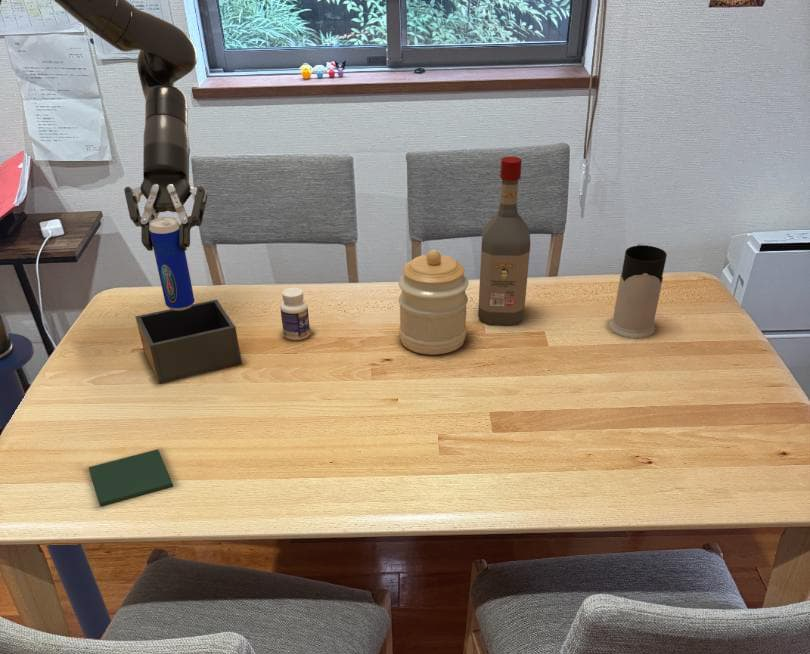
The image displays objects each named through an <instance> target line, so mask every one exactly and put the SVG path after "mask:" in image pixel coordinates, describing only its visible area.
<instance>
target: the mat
mask: <svg viewBox="0 0 810 654" xmlns="http://www.w3.org/2000/svg"><path fill="white" fill-rule="evenodd" d="M88 471H89V474H90V477H91V480H92V483H93V488H94V491H95V493H96V497H97V500H98V504H99V506H100V507H103V506H107V505H110V504H113V503H116V502H120V501H125V500H127V499H131V498H135V497H139V496H143V495H145V494H150V493H153V492H157V491H160V490H164V489H168V488H171V487H174V484H173V481H172V478H171V477H170V474H169V472H168V468H167V466H166V464H165V462H164V459H163V457H162V455H161V453H160V450H159V449H158V448H157V449H153V450H149V451H146V452H141V453H138V454H134V455H131V456H126V457H122V458H119V459H114V460H110V461H108V462H104V463H100V464H96V465H92V466H89V467H88Z"/></svg>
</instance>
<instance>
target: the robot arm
mask: <svg viewBox="0 0 810 654" xmlns="http://www.w3.org/2000/svg"><path fill="white" fill-rule="evenodd" d="M2 1H3V0H0V6H2ZM53 1H54V2H55V3H56V4H57V5H58V6H60V7H61V8H62V9H63V10H64V11H65V12H66V13H68V14H69V15H70V16H72V17H73V18H74V19H75V20H77V21H78V22H79V23H80V24H82V25H83V26H84V27H85V28H86V29H88V30H90V31H91V32H92V33H93V34H95V35H97V36H98V37H99V38H100V39H102V40H103V41H105V42H106V43H108V44H109V45H111V46H112V47H114V48H115V49H116V50H118V51H120V52H123V53H128V52H133V51H139V52H138V56H137V62H136V64H137V66H136V67H137V73H138V77H139V82H140V85H141V89H142V93H143V96H144V100H145V107H144V108H145V109H144V110H145V113H144V116H145V118H144V121H145V122H144V130H143V156H142V157H143V164H142V165H143V167H142V168H143V169H142V170H143V171H142V172H143V173H142V174H143V175H142V177H143V180H142V183H141V184H140V186H139V187H135V188H132V187H130V186H126V187H124V190H123V191H124V196H125V201H126V206H127V210H128V214H129V219H130V220H131V222H132V223H133V224H134V226H136V227H138V228H139V227H140V228H141V229H140V230H141V237H140V238H141V241H140V242H141V244H142V245H143V247H144V248H145V249H146V250H147V251H148V252H149V251H150V252H152V251H153V252H154V249H153V245H152V240H151V236H150V231H149V225H150V222H151V221H152V220H154V219H156V218H159V216H160V213H166V212H170V213H176V214H177V217H178V219H179V221H180V224H179V246H180V248H181V250H182V251H185V252H186V251H187V250H188V249H187V248H190V245H191V229H192V228H193V227H200V226H201V225H202V223H203V218H204V214H205V211H206V205H207V202H208V194H207V191H206V190H205V188H204V187H203V185H202V186H201V185H200V186H198V187H194V186H191V184H190V154H191V148H190V137H189V136H190V135H189V105H188V100H187V99H188V98H187V97H186V95H185V93H184V92H183V91H182V90H181V89H179V88H178V87H175V83H176V82H178V81H179V80H180V79H181V80H182V78H183V77H185V76H187V75H188V74H190V73H191V72H193V70H194V69H195V68H196V65H197V62H198V54H197V50H196V47H195V45H194V43H193V41H192V40H191V39H190V37H188V35H187V34H186V33H185V32H184V30H182V29H180V28H179V27H178V26H175V25H174V24H172V23H170V22H169V21H167V20H164V19H163V18H162V19H161V18H160V17H158V16H155V15H153V14H150V13H149V12H146V11H144V10H141V9H138V8H137V7H135V6H134V5H133V4H132V3H130V2H129V1H128V0H53ZM142 196H144V197H145V199H146V202H145V203H144V208H143V209H144V210H143V213H142V215H141V213H140V207H139V203H140V202H141V198H142ZM190 197H192V199H193V205H192V210H191V215H188V213H187V210H186V208H185V206H184V205H185V203H186V202H187V201H188V199H190ZM8 333H9V332H8V331H7V328H6V326H5V322H4V319H3V318H2V315H1V313H0V361H1V360H3V359H5V358H6V357H8V356H9V355H10V354H11V353H12V352H13V349H14V348H13V345H12V342H11V341H10V338H9V336H8Z"/></svg>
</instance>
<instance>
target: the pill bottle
mask: <svg viewBox="0 0 810 654" xmlns="http://www.w3.org/2000/svg"><path fill="white" fill-rule="evenodd" d="M281 297H282V302H281V304H280V305H279V307H280V309H279V310H280V317H281V325H282V332H283V337H284V338H286V339H287V340H289V341H301V340H304V339H307V338H308V337H309V336H310V335H311V327H310V315H309V306H308V302H307V301H306V300H304V291H303V289H302V288H299V287H288V288H285V289H284V290H282V292H281Z"/></svg>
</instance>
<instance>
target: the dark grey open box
mask: <svg viewBox="0 0 810 654" xmlns="http://www.w3.org/2000/svg"><path fill="white" fill-rule="evenodd" d="M135 321H136V325H137V329H138V333H139V336H140V341H141V344H142V348H143V352H144V353H143V354H144V355H145V357H146V359H147V361H148V363H149V366H150V367H151V369H152V370H151V371H152V372H153V375H154V376H155V378H156V381H157V383H158V384H163V383H167V382H171V381H177V380H180V379H184V378H188V377H194V376H196V375H197V376H198V375H201V374H205V373H210V372H214V371H219V370H223V369H227V368H230V367H231V368H232V367H235V366H240V365H242V364H243V363H242V356H241V351H240V345H239V339H238V333H237V327H236V325H235V324H234V323H233V321H232V319H231V318H230V316H229V315H228V313H227V311H226V310H225V309H224V308H223V305H222V304H221V303H220V301H219V300H218V299H213V300H207V301H202V302H198V303H197V302H196V303H193V305H192V306H191V307H190V308H188V309H186V310H179V311H177V310H172V309H170V308H169V309H164V310H159V311H155V312H149V313H145V314H139V315H136V316H135Z"/></svg>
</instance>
